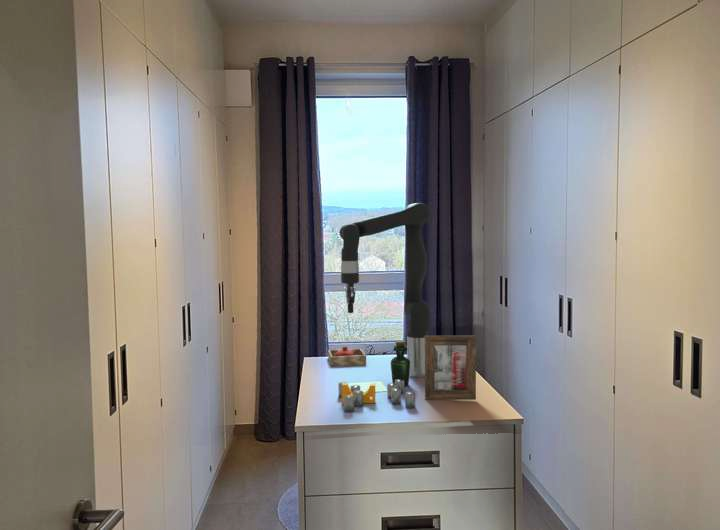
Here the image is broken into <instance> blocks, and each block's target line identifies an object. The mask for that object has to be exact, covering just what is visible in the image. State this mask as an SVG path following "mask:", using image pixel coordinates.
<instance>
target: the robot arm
mask: <svg viewBox="0 0 720 530" xmlns="http://www.w3.org/2000/svg"><path fill="white" fill-rule="evenodd" d="M430 214H431V211H430V208H429V207H428V206H427V204H424V203H421V202H417V203H416V202H415V203H410V204H408V205H407V206H406V207H405V209H403V210H400V211H396V212H391V213H387V214H386V213H385V214H381V215H378V216H377V215H376V216H374V217H370V218H366V219H364V220H361V221H356V222H352V223H346V224H344V225H342V226H341V227H340V230H339V237H340V238H341V239H342V240H343V244H342V245H343V246H342V248H341V252H340V254H341V257H340V258H341V262H340V263H341V264H340V282H341V284H346V287H344V291H345V299H346V305H347V313H348V314H353V313H354V304H355V301H356V300H355V298H356V287H355V285H354V284H358V283H360V267H359V266H360V264H359V251H358V250H359V245H360V239H361V238H362V237H369V236H372V235H376V234H379V233H383V232H386V231H389V230H393V229H396V228H400V227H403V226H404V227H405V228H404V230H405V298H404V309H403V310H404V314H405V316H406V317H407V318H408V319H410V320H409V328H407V330H406V347H407V350H406V358H408V359H409V360H410V372H409V377H412V378H425V336H429V332H430V328H431V327H430V326H431V308H430V305H429V304H428V303H427V302H426V301H424V300H423V298H422V297H423V296H422V290H423V289H422V288H423V283H424V280H425V278H426V274H427V263H428V261H427V258H428V257H427V250H426V248H425V247H426V246H425V245H424V241H423V237H422V236H423V235H422V228H423V227H422V225H423V224H424V223H426V222H427V221H428V220H429V218H430Z"/></svg>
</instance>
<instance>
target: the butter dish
mask: <svg viewBox="0 0 720 530" xmlns="http://www.w3.org/2000/svg"><path fill="white" fill-rule="evenodd" d="M348 349H349V348H348V346H345V345H344V346H342V349H339V350H340V351H338V352H337V353H336V356H355V354H354V351H353V350H348Z"/></svg>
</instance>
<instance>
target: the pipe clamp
mask: <svg viewBox="0 0 720 530" xmlns="http://www.w3.org/2000/svg"><path fill="white" fill-rule="evenodd" d="M348 383H349V382H347V383H343V384H342V398H341V405H344V396H346V395H352V396H353V392H352V391H351V390H350V388H349V385H348ZM365 403H366V404H367V403H368V404H374V403H375V404H376V392H375V383H370V387H369V389H368V390H367V391H366V392H365V393H363V404H365Z"/></svg>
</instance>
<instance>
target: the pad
mask: <svg viewBox="0 0 720 530" xmlns="http://www.w3.org/2000/svg"><path fill="white" fill-rule="evenodd" d="M347 383H348V385H349V388H350V390H351V386H352V385H359V386H360V391H363V393H365V392H366V391H367V390H368V389H369V387H370V383H375V393H380V392H381V393H382V392H386V393H387V387H386V386H385V385H384V384H383V382H382V381H366V382H365V381H363V382H347Z"/></svg>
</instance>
